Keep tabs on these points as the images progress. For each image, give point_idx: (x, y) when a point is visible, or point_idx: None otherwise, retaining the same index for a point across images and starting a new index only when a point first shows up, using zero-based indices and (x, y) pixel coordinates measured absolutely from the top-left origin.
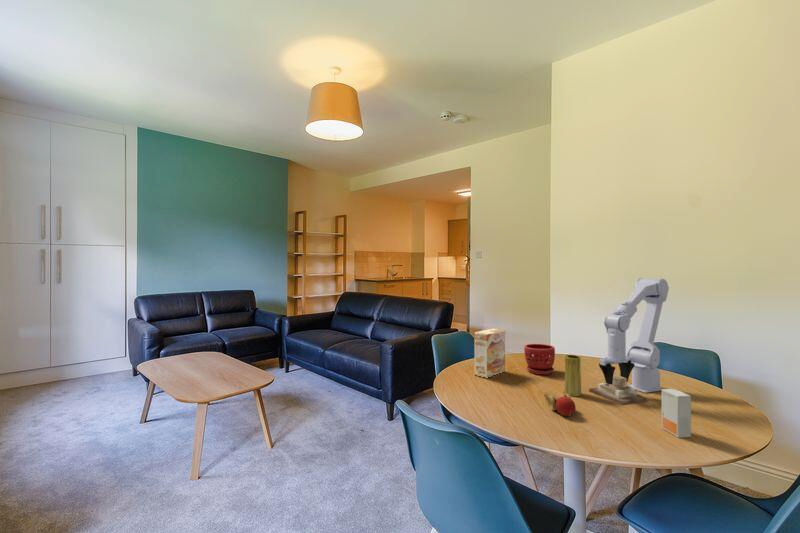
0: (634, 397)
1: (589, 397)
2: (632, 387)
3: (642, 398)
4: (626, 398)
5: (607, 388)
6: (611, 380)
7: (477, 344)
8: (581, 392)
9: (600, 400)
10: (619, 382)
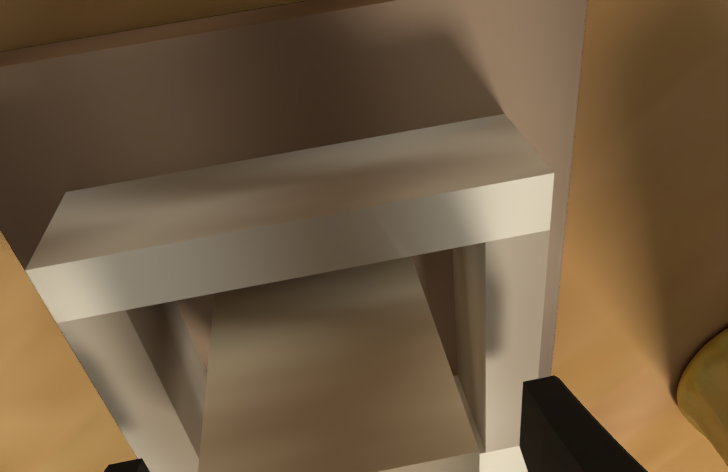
0: (177, 113)
1: (713, 263)
2: (73, 333)
3: (29, 59)
4: (367, 92)
5: (534, 342)
6: (602, 436)
7: None
8: (725, 356)
9: (694, 162)
10: (420, 393)
